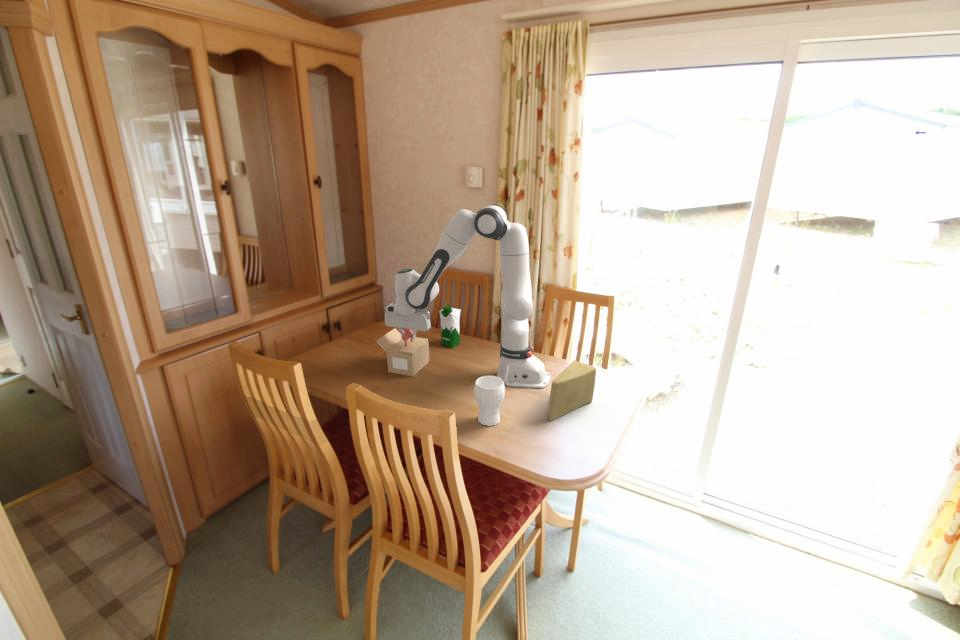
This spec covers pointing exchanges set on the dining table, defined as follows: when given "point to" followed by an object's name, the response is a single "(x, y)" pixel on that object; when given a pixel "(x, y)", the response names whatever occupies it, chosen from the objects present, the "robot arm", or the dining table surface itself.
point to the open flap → (389, 339)
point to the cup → (489, 399)
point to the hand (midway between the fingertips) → (408, 337)
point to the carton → (407, 359)
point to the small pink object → (411, 343)
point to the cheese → (571, 389)
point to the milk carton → (450, 326)
